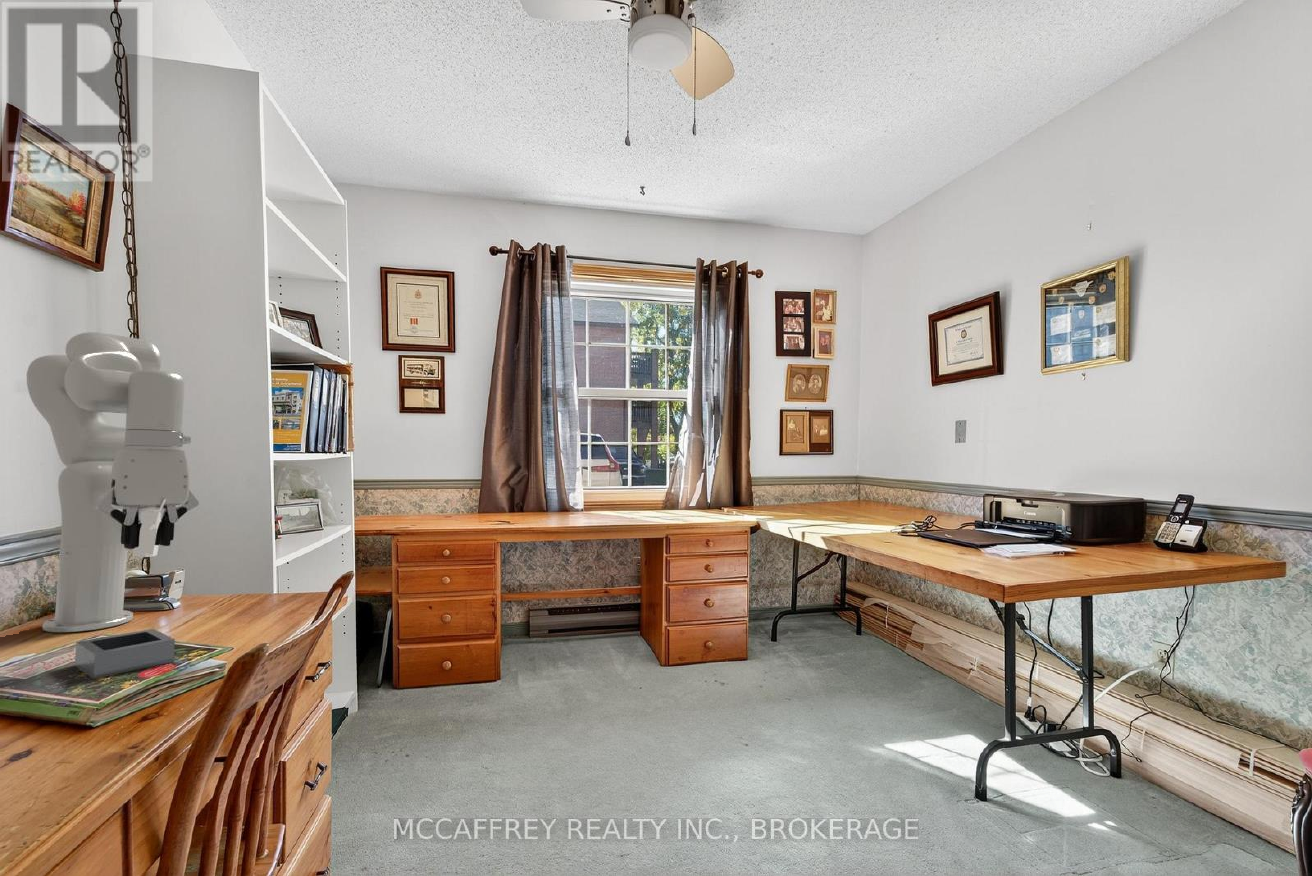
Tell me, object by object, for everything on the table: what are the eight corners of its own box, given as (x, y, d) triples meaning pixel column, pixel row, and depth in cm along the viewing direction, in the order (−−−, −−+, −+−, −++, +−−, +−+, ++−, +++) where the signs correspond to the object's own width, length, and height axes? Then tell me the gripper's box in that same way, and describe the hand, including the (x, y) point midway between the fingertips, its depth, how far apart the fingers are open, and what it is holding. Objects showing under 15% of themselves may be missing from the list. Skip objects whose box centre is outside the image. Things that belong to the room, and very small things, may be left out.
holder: (74, 665, 92) (76, 642, 92) (151, 650, 100) (153, 628, 100) (93, 679, 87) (95, 654, 87) (173, 661, 95) (174, 639, 95)
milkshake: (145, 558, 99) (151, 499, 99) (120, 556, 100) (126, 498, 100) (172, 555, 103) (178, 498, 104) (147, 553, 104) (153, 497, 105)
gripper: (201, 444, 111) (195, 540, 110) (81, 439, 97) (74, 550, 96) (218, 443, 107) (213, 543, 106) (96, 438, 93) (89, 554, 92)
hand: (147, 545), depth 101 cm, fingers closed on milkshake, 4 cm apart
